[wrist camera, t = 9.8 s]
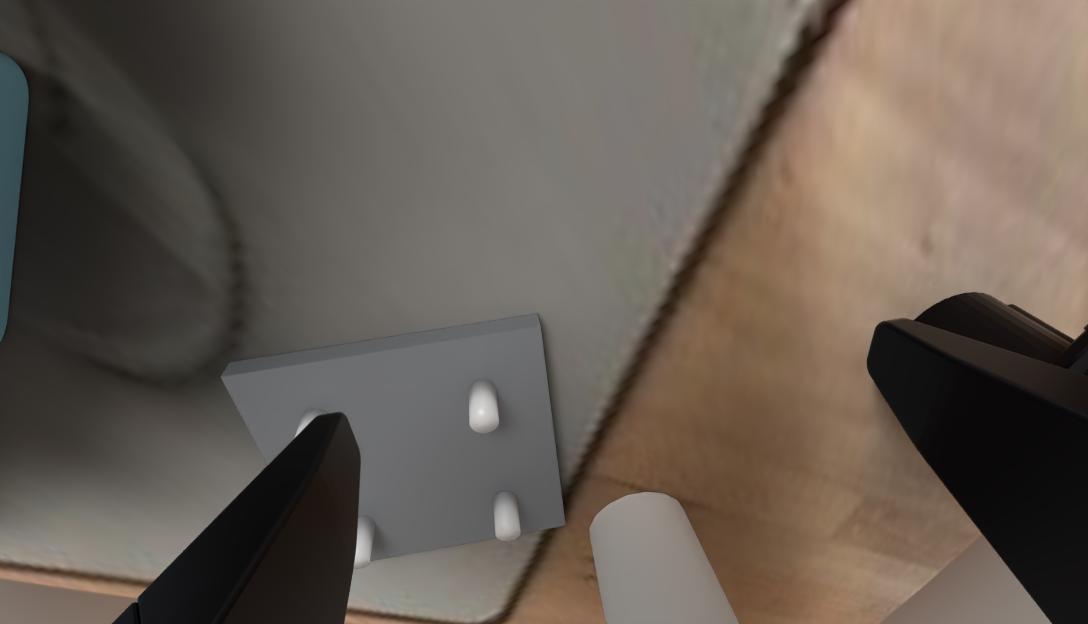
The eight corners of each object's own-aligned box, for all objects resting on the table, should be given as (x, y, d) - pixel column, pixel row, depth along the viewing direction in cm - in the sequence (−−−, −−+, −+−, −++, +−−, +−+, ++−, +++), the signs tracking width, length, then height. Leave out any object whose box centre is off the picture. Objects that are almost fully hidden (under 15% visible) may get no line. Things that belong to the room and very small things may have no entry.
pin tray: (537, 313, 24) (547, 353, 21) (562, 510, 30) (572, 558, 28) (229, 362, 23) (200, 410, 20) (326, 552, 30) (314, 606, 27)
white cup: (652, 569, 35) (715, 760, 26) (561, 549, 32) (597, 753, 24) (714, 500, 32) (807, 690, 23) (619, 474, 30) (683, 673, 21)
